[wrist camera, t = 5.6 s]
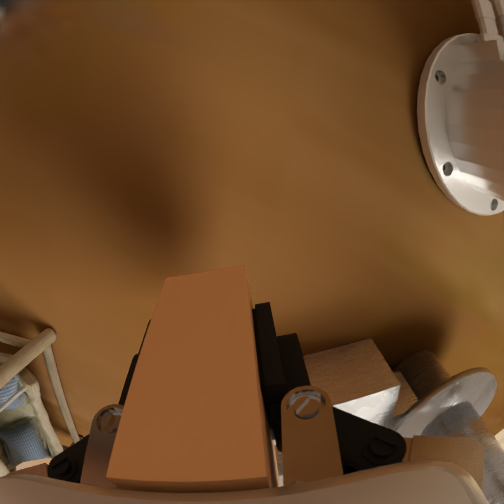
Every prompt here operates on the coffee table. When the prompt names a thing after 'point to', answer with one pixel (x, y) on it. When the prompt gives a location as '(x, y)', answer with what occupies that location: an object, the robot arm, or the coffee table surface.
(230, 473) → the orange rectangular block
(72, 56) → the coffee table surface
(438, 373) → the bracket head
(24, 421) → the swing bench
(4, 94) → the coffee table surface
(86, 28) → the coffee table surface
